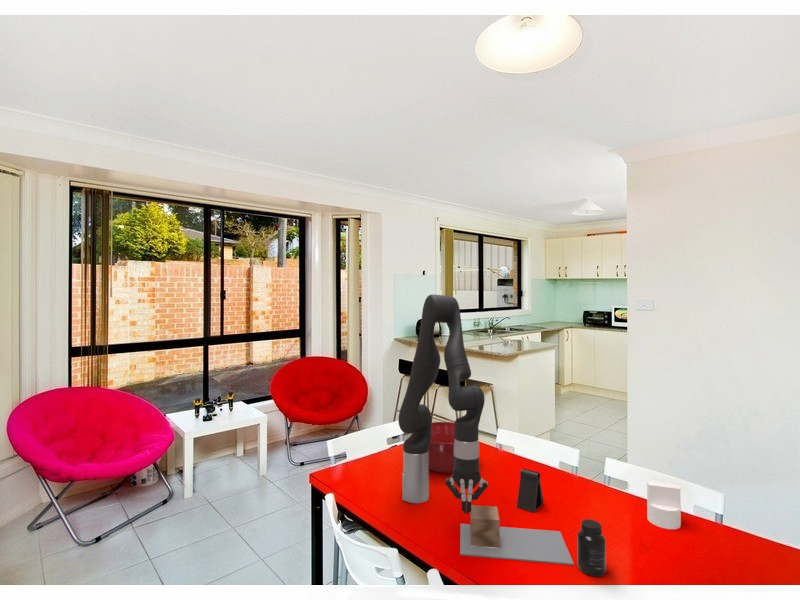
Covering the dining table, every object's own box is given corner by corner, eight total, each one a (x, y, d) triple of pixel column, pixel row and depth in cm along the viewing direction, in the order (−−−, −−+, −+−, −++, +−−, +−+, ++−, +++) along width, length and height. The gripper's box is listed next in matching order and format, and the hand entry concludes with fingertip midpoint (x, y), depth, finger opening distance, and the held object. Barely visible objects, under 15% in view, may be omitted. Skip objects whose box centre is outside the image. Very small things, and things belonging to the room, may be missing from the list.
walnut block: (470, 546, 119) (470, 518, 120) (470, 531, 127) (470, 504, 127) (499, 548, 118) (499, 520, 118) (497, 533, 126) (497, 506, 126)
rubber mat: (460, 555, 116) (460, 553, 116) (460, 524, 132) (460, 523, 132) (573, 565, 111) (573, 563, 111) (560, 532, 127) (560, 531, 127)
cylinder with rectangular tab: (675, 518, 136) (675, 481, 136) (684, 532, 127) (684, 493, 127) (644, 513, 139) (644, 477, 139) (650, 527, 130) (650, 488, 130)
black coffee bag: (533, 513, 139) (533, 477, 139) (516, 507, 143) (516, 472, 143) (543, 503, 146) (543, 469, 146) (527, 498, 150) (527, 464, 150)
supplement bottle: (572, 561, 113) (572, 517, 113) (596, 560, 113) (596, 516, 114) (586, 578, 106) (585, 531, 106) (611, 577, 107) (611, 529, 107)
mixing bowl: (484, 481, 164) (484, 442, 164) (411, 481, 164) (411, 441, 165) (472, 455, 192) (472, 421, 192) (410, 455, 193) (410, 421, 193)
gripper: (443, 457, 121) (443, 517, 121) (489, 459, 119) (490, 520, 119) (444, 448, 128) (444, 504, 128) (488, 450, 126) (488, 508, 126)
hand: (466, 512), depth 124 cm, fingers closed
